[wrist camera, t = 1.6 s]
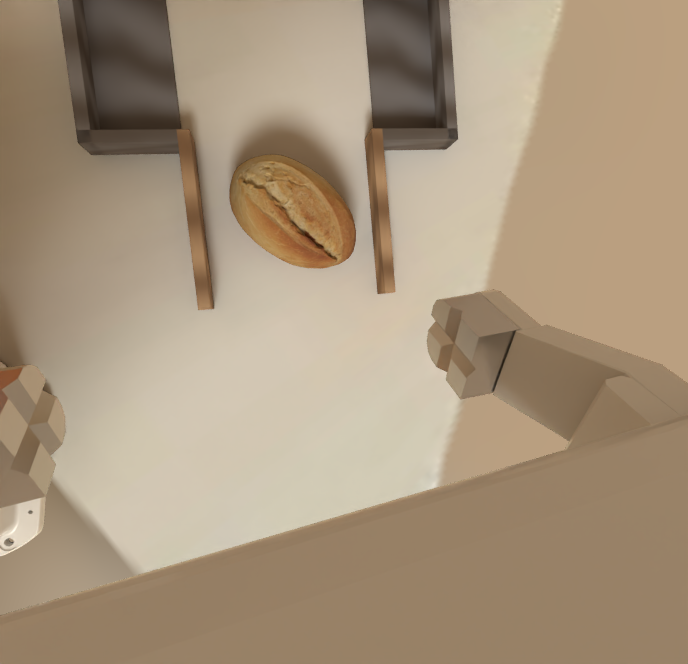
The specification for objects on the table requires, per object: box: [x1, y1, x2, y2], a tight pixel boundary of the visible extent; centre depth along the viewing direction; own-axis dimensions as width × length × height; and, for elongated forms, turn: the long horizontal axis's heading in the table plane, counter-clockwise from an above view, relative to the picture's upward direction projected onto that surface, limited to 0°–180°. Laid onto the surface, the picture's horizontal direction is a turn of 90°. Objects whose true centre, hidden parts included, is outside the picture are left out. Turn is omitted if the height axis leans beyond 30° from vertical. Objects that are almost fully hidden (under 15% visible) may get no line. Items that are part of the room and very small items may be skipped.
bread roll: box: [230, 154, 356, 268], centre depth 41 cm, size 10×15×8 cm, turn 57°
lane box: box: [58, 0, 458, 310], centre depth 41 cm, size 47×39×5 cm
